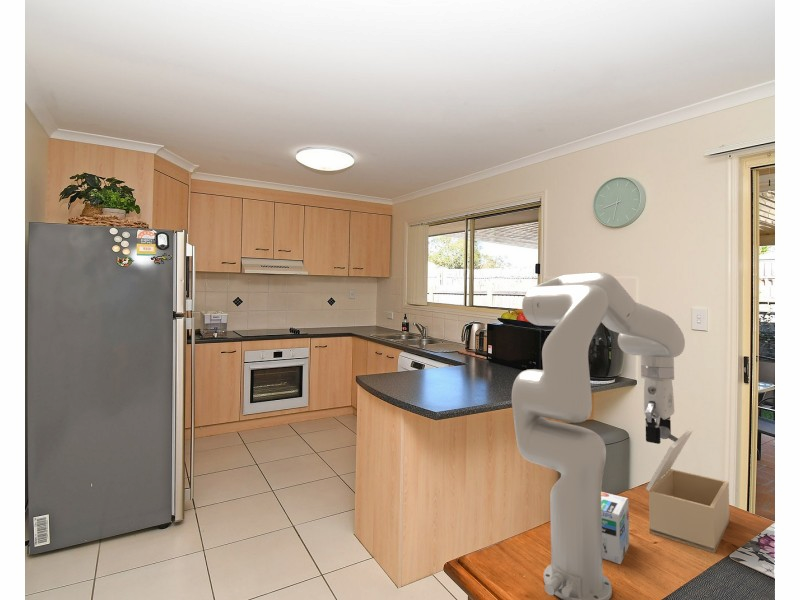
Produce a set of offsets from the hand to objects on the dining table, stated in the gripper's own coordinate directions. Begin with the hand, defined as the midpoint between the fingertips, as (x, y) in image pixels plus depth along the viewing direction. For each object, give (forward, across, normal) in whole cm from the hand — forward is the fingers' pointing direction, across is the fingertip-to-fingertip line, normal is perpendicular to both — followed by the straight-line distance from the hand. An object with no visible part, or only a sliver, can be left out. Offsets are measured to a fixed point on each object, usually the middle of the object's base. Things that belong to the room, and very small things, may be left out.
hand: (658, 438), depth 114 cm
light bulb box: (+21, -24, +4) cm, 32 cm away
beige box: (+21, 0, -7) cm, 22 cm away
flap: (+5, 0, -3) cm, 6 cm away
